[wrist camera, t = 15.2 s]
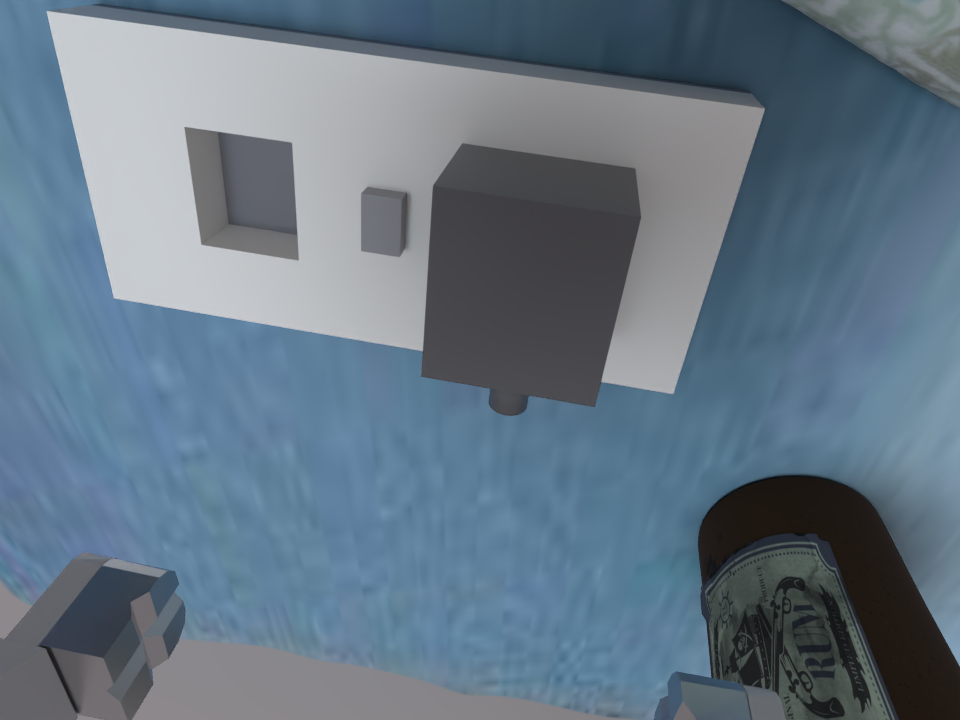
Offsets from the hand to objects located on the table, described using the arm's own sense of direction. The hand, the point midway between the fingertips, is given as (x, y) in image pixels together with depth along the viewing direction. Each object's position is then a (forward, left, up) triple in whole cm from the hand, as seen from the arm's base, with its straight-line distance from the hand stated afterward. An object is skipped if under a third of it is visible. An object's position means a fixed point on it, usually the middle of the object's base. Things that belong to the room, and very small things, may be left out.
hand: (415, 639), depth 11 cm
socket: (+1, -6, -21) cm, 22 cm away
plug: (+2, 0, -20) cm, 20 cm away
